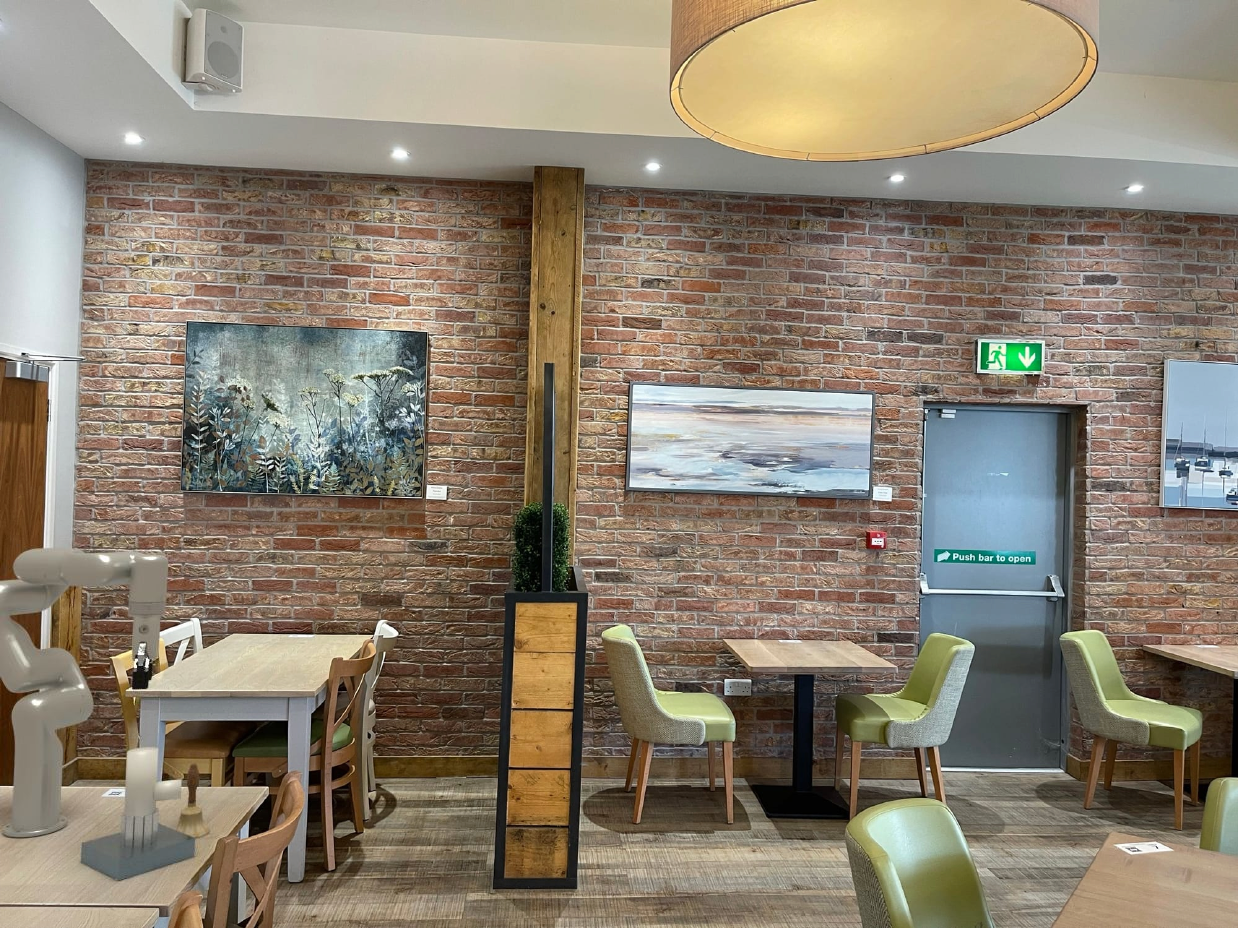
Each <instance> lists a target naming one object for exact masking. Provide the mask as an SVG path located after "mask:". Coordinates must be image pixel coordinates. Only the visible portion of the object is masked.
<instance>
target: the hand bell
mask: <svg viewBox="0 0 1238 928" xmlns="http://www.w3.org/2000/svg"><path fill="white" fill-rule="evenodd" d="M199 782H200V772H199V768H198V764H197V763H191V764H190V766H189V769H188V771H187V775H186V785H187V789H188V790H187V791H188V797H187V799H188V800H187V807H185V808H183V809H182V810H181V811H180V815H179V820H178V823H177V825H176V826H175V828H173V829H174V830H177V831H179V832H182V833H184V834H187V835H189V836H192V837H194V838H195V839H199V838H203V837H205V836H207V835H209V833H210V832H211V830H210V828H209V827H208V825H206V824H205V821H204V818H203V810H202V808H201V807H198V806H197V789H198V786H199Z"/></svg>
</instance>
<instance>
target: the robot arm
mask: <svg viewBox="0 0 1238 928" xmlns="http://www.w3.org/2000/svg"><path fill="white" fill-rule="evenodd" d="M13 562H14V563H13V565H12V569H13V573H14V574H15V576H16V577H17V579H8V580H7V579H6V580H0V679H1V681H2V683H3V684H4V686H5V687H6V689H7V690H8V691H9V692H11V693H16V694H21V693H29V692H33V693H30V694H28V695H25V696H23V697H22V698H20V699H19V700H18V701H17V702H16V703H15V704H14V706H13V709H12V711H11V722H12V723H11V724H12V728H13V735H14V768H13V769H14V770H13V773H14V774H13V788H12V789H13V790H12V791H13V792H12V808H11V821H10V822H8V823H7V824H5V825H4V826H3V828H2V833H3V835H4V836H6V837H10V838H30V837H38V836H44V835H47V834H51V833H54V832H57V831H59V830H62V829H63V828H65V827H66V826H67V825H68V817H67V816H65V815H62V814H61V800H62V785H63V784H62V783H63V781H62V780H63V766H64V765H63V763H64V762H63V761H64V758H63V757H64V756H63V755H64V749H63V744H62V741H61V740H60V739H59V736H58V735H57V733H56V730H59V729H63V728H67V727H71V726H75V725H78V724H81V723H83V722H85V721H87V719H89V717H90V716H91V715H92V713H93V711H94V699H93V695H92V691H91V689H90V688H89V686H88V683H87V681H86V679H85V677H84V675H83V673H82V670H81V669H80V667H79V665H78V663H77V661H76V659H75V657H74V656H73V654H71V653H70V652H69V651H68V650H66V649H64V648H61V647H47V648H41V649H40V648H37V647H36V645H34V643H33V641H32V638H31V637H30V634H29V633H28V632H27V630H26V629H25V628H24V627H23V626H22V625H21V624H20V623H18V622H17V621H15V620H13V619H12V617H11V616H16V615H24V614H34V613H35V614H36V613H40V612H43V611H45V610H47V609H49V608H51V607H52V606H53V605H54V604H55V603H56V602H57V601H58V600H59V599H60V598H61V597H62V595H63V594H64V593H65V592H66V590H68V588H70V587H89V588H91V587H94V588H95V587H97V588H98V587H99V588H100V587H110V586H111V587H112V586H123V585H124V586H125V585H129V594H128V610H127V617H130V618H133V622H132V637H131V639H132V640H131V644H132V645H131V659H132V661H134V666H133V671H132V677H131V679H132V680H131V690H133V691H134V690H136V691H138V690H148V688H149V684H150V683H149V682H150V681H152V679H153V667H154V662H153V661H155V662H156V660H157V659H158V657H159V653H160V652H159V651H160V634H161V633H160V632H161V617H164V616H165V615H166V605H167V591H168V589H167V588H168V575H169V559H168V557H167V556H165V555H163V554H146V553H142V552H138V551H116V552H97V553H96V552H94V553H93V552H91V553H90V552H89V553H88V552H87V553H86V552H84V551H83V550H81V549H77V548H69V547H47V548H46V547H45V548H43V547H41V548H32V549H29V550H26V551H24V552H22V553H20V554H19V555H18V556H17V557H16V558H15V560H14V561H13ZM45 689H46V690H45ZM39 690H41V691H39ZM34 691H37V692H34Z"/></svg>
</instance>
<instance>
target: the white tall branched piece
mask: <svg viewBox="0 0 1238 928" xmlns="http://www.w3.org/2000/svg"><path fill="white" fill-rule="evenodd" d="M158 764H159V748H158V747H154V746H153V747H152V746H146V747H145V746H144V747H143V746H142V747H137V748H132V749H129V750H128V751H126V764H125V765H126V767H125V768H126V769H125V788H124V808H123V809H124V811H123V812H124V815H125V816H129V817H137V816H144V815H148V814H151V813H153V812H155V811H156V808H157V802H160V801H161V802H163V801H170V800H180V799H182V780H183V779H182V778H181V779H171V780H163V781H158V767H159V765H158Z"/></svg>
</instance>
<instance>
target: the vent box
mask: <svg viewBox="0 0 1238 928" xmlns="http://www.w3.org/2000/svg"><path fill="white" fill-rule="evenodd" d="M120 818H121V819H120V832H116V833H112V834H109V835H106V836H102V837H98V838H94V839H92V840H91V839H90V840H87V841H85V842H81V847H80V848H81V851H80V863H81V862H82V864H83V863H84V865H85V866H87V865H88V867H89V866H90V868H91V869H93V868H94V870H95V871H97V870H98V872H99V871H100V872H99V873H101V872H102V873H101V874H103V873H104V875H105V876H107V877H109V876H110V877H109V878H112V879H113V878H114V880H115V879H117V880H118V882H119V880H120V881H123V880H125V878H126V879H129V878H132V877H134V876H135V877H136V876H138V875H142V874H145V873H148V872H151V871H154V870H157V869H160V868H163V867H167V866H169V865H173V864H177V863H178V862H182V861H185V860H188V859H191V858H195V850H196V849H195V848H196V847H195V846H196V838H194V837H192V836H189V835H187V834H184V833H182V832H179V831H177V830H174V829H175V828H172V827H169V826H167V825H165V824H162V823H160V822H159V807H156V811H155V812H153V813H151V814H148V815H144V816H137V817H129V816H125V815H124V811H122V812H121V817H120ZM131 876H132V877H131ZM122 879H123V880H122ZM117 880H116V881H117Z"/></svg>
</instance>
